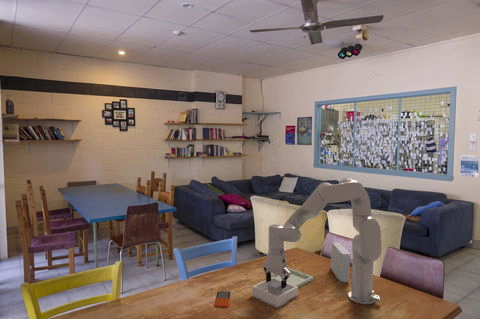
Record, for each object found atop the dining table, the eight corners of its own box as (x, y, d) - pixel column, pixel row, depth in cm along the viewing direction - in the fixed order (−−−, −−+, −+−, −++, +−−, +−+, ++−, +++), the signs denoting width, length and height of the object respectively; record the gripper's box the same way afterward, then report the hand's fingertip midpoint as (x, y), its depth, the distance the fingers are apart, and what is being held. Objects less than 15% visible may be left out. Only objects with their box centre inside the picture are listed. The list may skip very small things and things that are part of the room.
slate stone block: (282, 294, 162) (282, 284, 162) (275, 297, 159) (275, 287, 158) (274, 291, 166) (274, 281, 165) (267, 294, 162) (268, 284, 162)
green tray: (313, 281, 180) (313, 276, 180) (293, 291, 168) (293, 286, 168) (287, 271, 193) (287, 267, 193) (266, 280, 181) (266, 275, 180)
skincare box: (349, 282, 179) (350, 254, 178) (339, 282, 179) (340, 254, 178) (339, 267, 200) (339, 242, 199) (330, 267, 200) (330, 241, 199)
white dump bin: (297, 296, 162) (298, 287, 162) (277, 308, 151) (277, 297, 151) (273, 286, 174) (273, 276, 173) (252, 295, 162) (252, 286, 162)
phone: (214, 305, 151) (217, 290, 166) (214, 308, 151) (217, 293, 166) (228, 306, 151) (230, 291, 166) (228, 308, 151) (230, 293, 166)
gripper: (295, 252, 157) (294, 287, 158) (267, 244, 170) (267, 277, 171) (285, 256, 152) (285, 292, 153) (257, 247, 164) (257, 281, 165)
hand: (276, 284), depth 162 cm, fingers open, 9 cm apart
